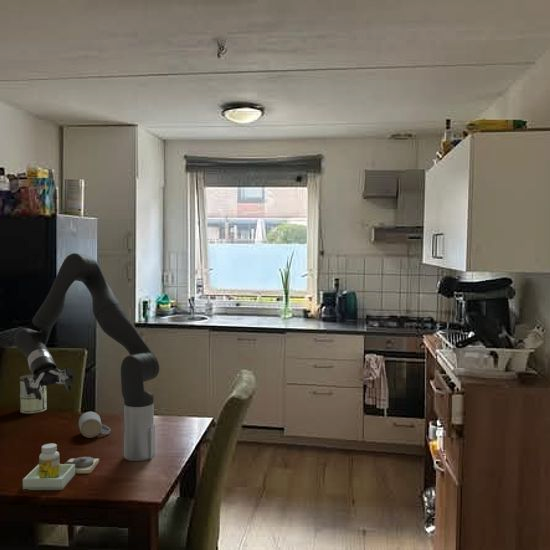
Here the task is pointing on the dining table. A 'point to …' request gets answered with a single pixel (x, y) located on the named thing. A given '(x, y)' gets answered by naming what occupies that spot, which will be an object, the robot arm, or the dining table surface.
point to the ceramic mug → (92, 425)
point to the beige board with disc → (83, 464)
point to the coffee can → (31, 398)
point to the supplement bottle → (49, 462)
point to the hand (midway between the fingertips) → (54, 393)
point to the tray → (49, 479)
